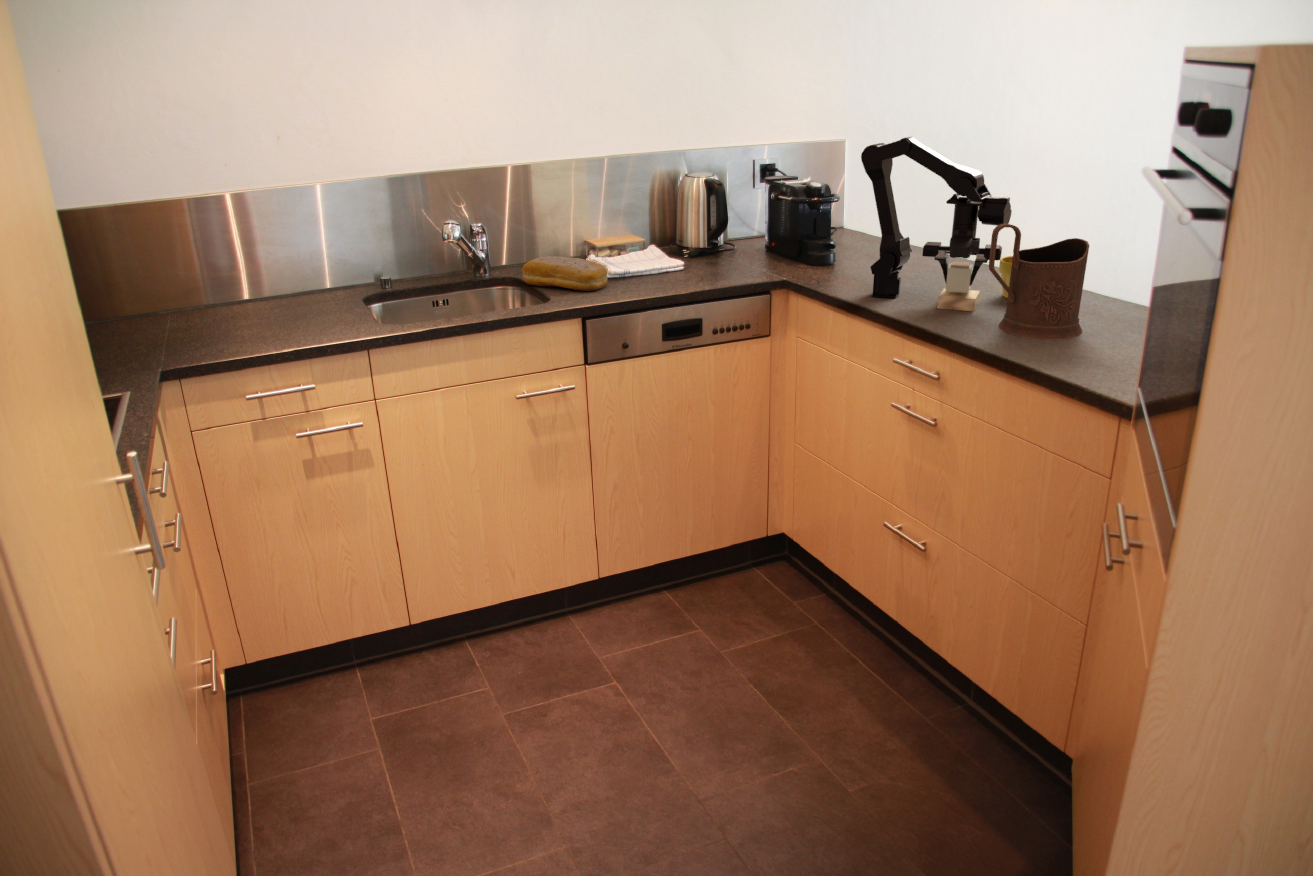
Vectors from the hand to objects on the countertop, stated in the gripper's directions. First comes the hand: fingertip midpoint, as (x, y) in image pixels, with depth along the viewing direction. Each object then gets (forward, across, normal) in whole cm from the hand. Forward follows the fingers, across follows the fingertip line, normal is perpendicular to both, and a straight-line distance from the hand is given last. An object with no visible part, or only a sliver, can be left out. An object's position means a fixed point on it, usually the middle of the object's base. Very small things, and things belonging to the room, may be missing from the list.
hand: (958, 284), depth 237 cm
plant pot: (+6, +14, +13) cm, 20 cm away
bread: (+6, -108, -9) cm, 109 cm away
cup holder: (+6, +18, -18) cm, 26 cm away
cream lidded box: (+1, 0, 0) cm, 1 cm away
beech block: (+6, 0, 0) cm, 6 cm away
